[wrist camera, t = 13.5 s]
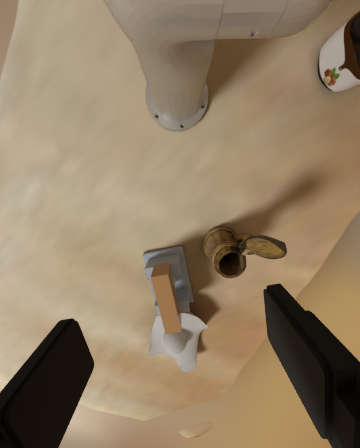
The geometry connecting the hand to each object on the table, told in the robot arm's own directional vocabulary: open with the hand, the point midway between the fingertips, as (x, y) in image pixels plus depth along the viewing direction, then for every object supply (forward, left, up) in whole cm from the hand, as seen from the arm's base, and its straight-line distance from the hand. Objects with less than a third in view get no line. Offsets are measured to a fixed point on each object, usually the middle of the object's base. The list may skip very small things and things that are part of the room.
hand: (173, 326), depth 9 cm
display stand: (+18, -6, -36) cm, 41 cm away
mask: (+35, -7, -37) cm, 51 cm away
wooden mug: (+10, +10, -36) cm, 39 cm away
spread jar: (-21, +38, -37) cm, 57 cm away
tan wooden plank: (+18, -6, -30) cm, 36 cm away
